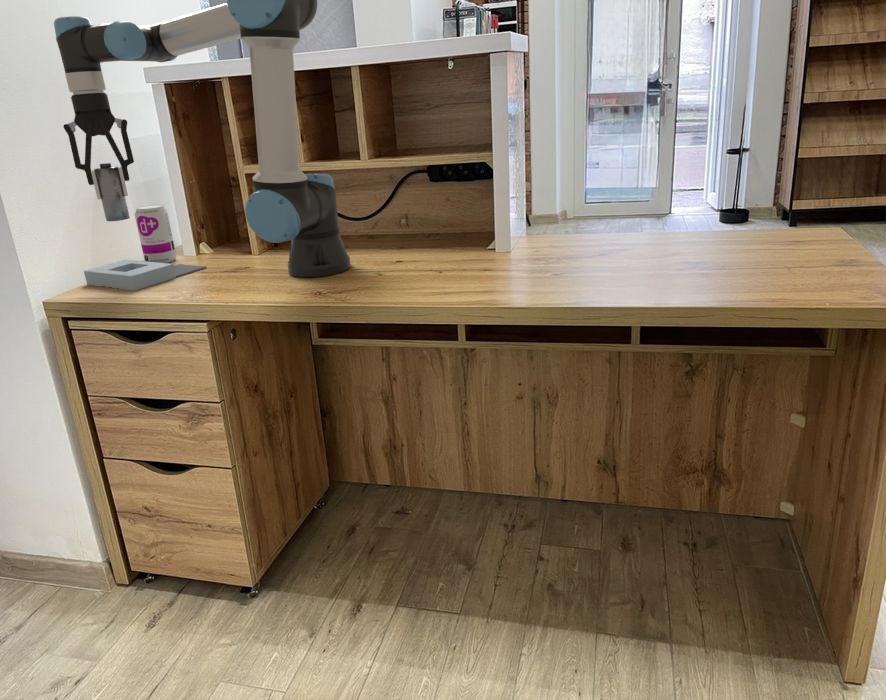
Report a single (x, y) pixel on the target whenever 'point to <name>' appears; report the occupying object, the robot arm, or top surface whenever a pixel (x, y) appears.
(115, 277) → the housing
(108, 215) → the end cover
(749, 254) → the top surface
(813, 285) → the top surface
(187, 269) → the pad
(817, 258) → the top surface
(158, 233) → the supplement can
